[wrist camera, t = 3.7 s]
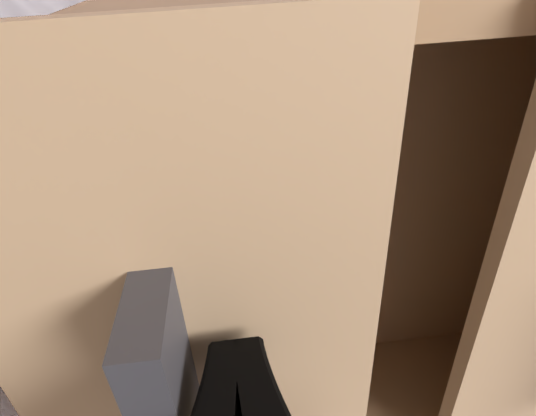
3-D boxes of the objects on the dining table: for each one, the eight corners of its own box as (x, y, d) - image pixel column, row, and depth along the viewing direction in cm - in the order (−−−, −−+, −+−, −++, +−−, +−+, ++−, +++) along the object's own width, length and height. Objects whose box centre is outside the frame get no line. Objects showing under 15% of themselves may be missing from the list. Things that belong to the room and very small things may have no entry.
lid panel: (353, 464, 16) (380, 564, 13) (90, 502, 15) (65, 615, 13) (406, -10, 7) (511, 10, 5) (-190, 30, 7) (-448, 80, 4)
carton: (570, 319, 21) (658, 410, 17) (180, 368, 20) (171, 480, 16) (744, -44, 13) (1003, -41, 9) (86, 0, 12) (12, 28, 7)
